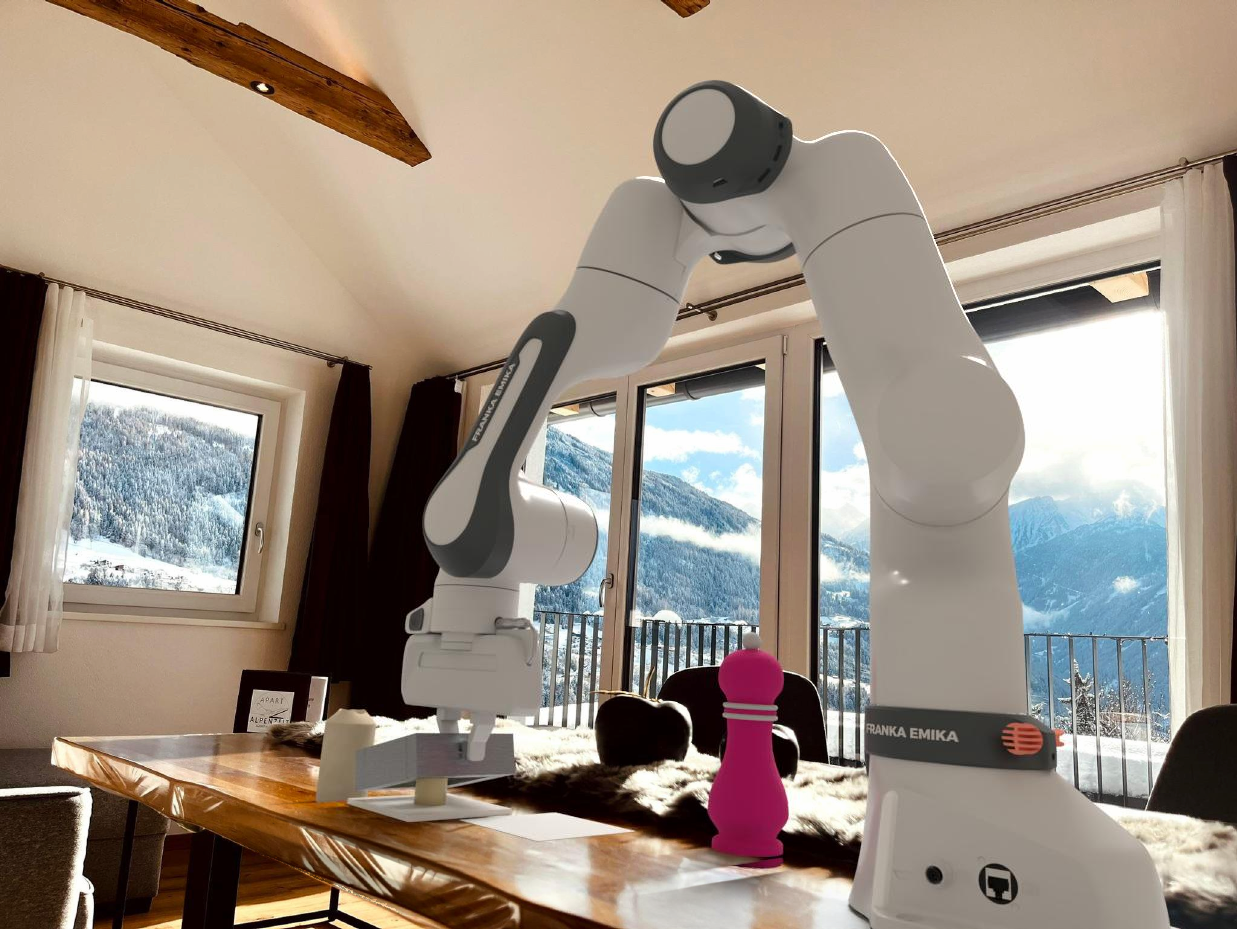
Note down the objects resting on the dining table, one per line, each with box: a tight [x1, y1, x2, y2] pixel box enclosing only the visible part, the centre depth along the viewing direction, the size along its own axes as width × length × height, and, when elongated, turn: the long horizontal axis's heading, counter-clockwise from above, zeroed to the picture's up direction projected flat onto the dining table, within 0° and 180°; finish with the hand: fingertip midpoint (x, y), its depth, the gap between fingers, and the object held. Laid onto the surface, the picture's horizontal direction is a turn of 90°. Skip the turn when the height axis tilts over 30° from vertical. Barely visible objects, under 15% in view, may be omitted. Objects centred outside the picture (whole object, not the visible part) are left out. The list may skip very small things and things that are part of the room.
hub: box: [346, 778, 513, 823], centre depth 92 cm, size 12×12×6 cm
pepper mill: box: [706, 631, 790, 870], centre depth 81 cm, size 7×7×20 cm
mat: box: [459, 812, 637, 843], centre depth 85 cm, size 12×12×1 cm
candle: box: [315, 708, 377, 803], centre depth 99 cm, size 6×6×10 cm
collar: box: [355, 732, 516, 792], centre depth 92 cm, size 12×12×4 cm
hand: (461, 758), depth 89 cm, fingers open, 2 cm apart
